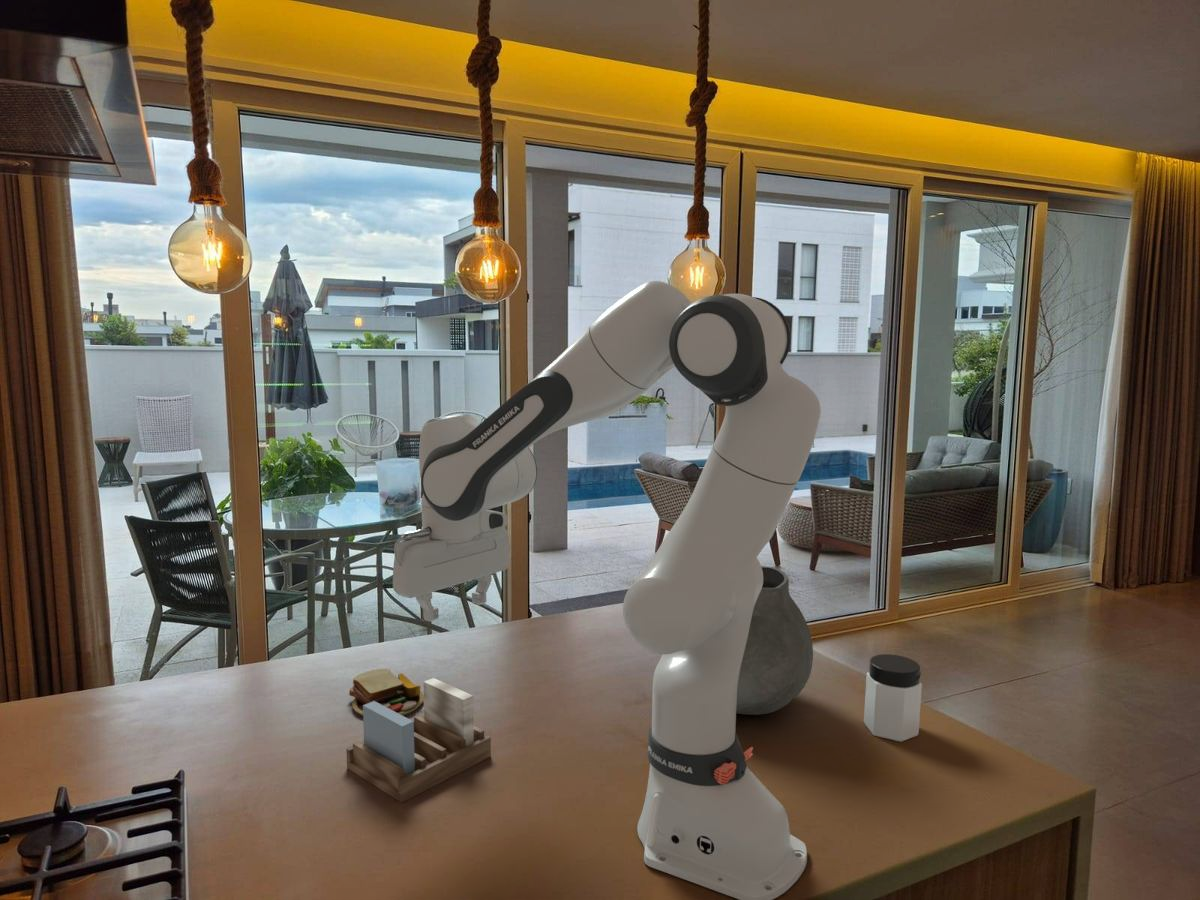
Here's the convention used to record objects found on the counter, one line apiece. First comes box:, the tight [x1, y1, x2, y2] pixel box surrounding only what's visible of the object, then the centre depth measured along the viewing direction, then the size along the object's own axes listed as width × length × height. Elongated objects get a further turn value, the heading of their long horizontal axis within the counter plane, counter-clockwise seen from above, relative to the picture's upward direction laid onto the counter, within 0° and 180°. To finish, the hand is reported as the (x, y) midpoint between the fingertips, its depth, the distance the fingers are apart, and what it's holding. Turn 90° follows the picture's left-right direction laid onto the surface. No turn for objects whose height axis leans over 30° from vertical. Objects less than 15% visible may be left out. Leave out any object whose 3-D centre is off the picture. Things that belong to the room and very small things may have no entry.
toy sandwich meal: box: [348, 668, 424, 717], centre depth 142 cm, size 12×14×5 cm
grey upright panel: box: [362, 701, 415, 776], centre depth 118 cm, size 10×2×9 cm, turn 50°
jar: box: [863, 653, 923, 743], centre depth 135 cm, size 9×8×12 cm
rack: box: [346, 677, 492, 803], centre depth 122 cm, size 14×17×10 cm
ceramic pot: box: [736, 565, 814, 716], centre depth 142 cm, size 24×24×25 cm
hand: (456, 611), depth 119 cm, fingers open, 8 cm apart
